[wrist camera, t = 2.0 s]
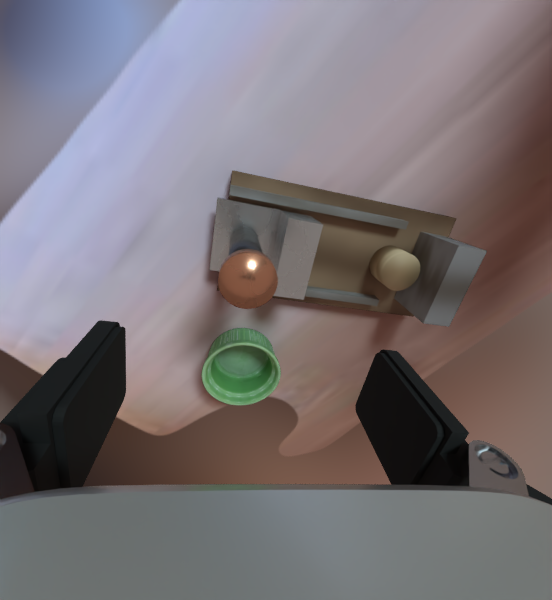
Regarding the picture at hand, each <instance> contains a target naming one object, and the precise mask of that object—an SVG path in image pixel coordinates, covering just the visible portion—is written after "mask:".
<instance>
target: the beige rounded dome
mask: <svg viewBox="0 0 552 600" xmlns="http://www.w3.org/2000/svg"><path fill="white" fill-rule="evenodd" d="M369 268H370V272H371V274H372V275H373V276H374V277H375V278H376V279H377V280H379V281H380V282H381V283H382V284H384V285H385V286H386V287H387V288H389V289H390V290H393V291H401V290H404V289H406V288H408V287H410V286H411V285H412V284H413V283H414V282H415V281H416V280H417V278H418V276H419V273H420V263H419V261H418V259H417V258H416V257H415V256H413V255H412V254H410V253H408V252H406V251H404V250H402V249H400V248H398V247H396V246H391V245H389V246H384V247H382V248H380V249H379V250H377V251H376V252H375V253H374V255H373V256H372V258H371V260H370V265H369Z"/></svg>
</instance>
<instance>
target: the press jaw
mask: <svg viewBox="0 0 552 600" xmlns="http://www.w3.org/2000/svg"><path fill="white" fill-rule="evenodd" d="M322 228H323V224H322V223H320V222H319V221H317V220H316V219H314V218H313V217H312V216H308V215H302V214H297V213H292V212H287V211H282V210H280V209H275V208H270V207H265V206H260V205H255V204H250V203H244V202H239V201H234V200H229V199H224V198H219V197H218V199H217V208H216V216H215V225H214V234H213V243H212V252H211V261H210V270H213V271H219V277H218V285H219V289H220V292H221V294H222V296H223V297H224V298H225V299H226V300H227V301H228V302H229V303H230V304H232V305H234V306H236V307H239V308H244V309H252V308H256V307H259V306H262V305H264V304H265V303H267V302H268V301H269V300H270V299H271V298H272V297H273V296H279V297H286V298H294V299H301V300H304V297H305V293H306V289H307V285H308V281H309V278H310V274H311V270H312V266H313V262H314V258H315V255H316V251H317V247H318V243H319V239H320V235H321V232H322Z"/></svg>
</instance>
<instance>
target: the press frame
mask: <svg viewBox="0 0 552 600" xmlns="http://www.w3.org/2000/svg"><path fill="white" fill-rule="evenodd" d="M229 200H234V201H239V202H244V203H250V204H255V205H260V206H265V207H270V208H275V209H280V210H282V211H287V212H292V213H297V214H302V215H308V216H312V217H313V218H314V219H316V220H317V221H319V222H320V223H322V224H323V228H322V232H321V235H320V239H319V243H318V247H317V251H316V255H315V258H314V262H313V266H312V270H311V274H310V278H309V281H308V285H307V289H306V293H305V297H304V300H301V299H294V298H286V297H279V296H273V297H272V298H278V299H286V300H293V301H301V302H308V303H316V304H323V305H331V306H338V307H346V308H353V309H361V310H368V311H376V312H383V313H391V314H399V315H406V316H415V317H416V318H418V319H419V320H420V321H421V322H422V323H425V324H433V325H440V326H448V327H449V326H450V324H451V322H452V320H453V318H454V316H455V314H456V312H457V310H458V308H459V306H460V304H461V302H462V300H463V298H464V296H465V294H466V292H467V290H468V288H469V286H470V284H471V282H472V280H473V278H474V276H475V274H476V272H477V270H478V268H479V266H480V264H481V262H482V260H483V258H484V256H485V254H486V252H487V251H486V250H483V249H480V248H477V247H474V246H471V245H468V244H465V243H463V242H460V241H457V240H454V239H451V238H448V237H449V235H450V232H451V230H452V228H453V225H454V223H455V221H456V218H452V217H448V216H443V215H438V214H434V213H429V212H424V211H420V210H415V209H410V208H406V207H401V206H396V205H392V204H387V203H382V202H378V201H373V200H368V199H364V198H359V197H354V196H350V195H345V194H340V193H336V192H331V191H326V190H322V189H317V188H312V187H308V186H303V185H298V184H294V183H289V182H284V181H280V180H275V179H270V178H266V177H261V176H256V175H252V174H247V173H242V172H238V171H232V178H231V185H230V193H229ZM389 245H391V246H396V247H398V248H400V249H402V250H404V251H406V252H408V253H410V254H412V255H413V256H415V257H416V258H417V259H418V261H419V263H420V273H419V276H418V278H417V280H416V281H415V282H414V283H413V284H412V285H411V286H410V287H408V288H406V289H404V290H401V291H393V290H390V289H389V288H387V287H386V286H385V285H384V284H382V283H381V282H380V281H379V280H377V279H376V278H375V277H374V276H373V275H372V274H371V272H370V268H369V265H370V260H371V258H372V256H373V255H374V253H375V252H376V251H377V250H379V249H380V248H382V247H384V246H389ZM217 290H218V291H220V289H219V285H218V288H217Z"/></svg>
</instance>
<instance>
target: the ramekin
mask: <svg viewBox="0 0 552 600" xmlns="http://www.w3.org/2000/svg"><path fill="white" fill-rule="evenodd" d="M280 375H281V371H280V365H279V363H278V360H277V358H276V356H275V354H274V351H273V348H272V345H271V343H270V342H269V340H268V339H267V338H266V337H265V336H264V335H262V334H261V333H259V332H257V331H255V330H253V329H248V328H237V329H232V330H229V331H227V332H225V333H223V334H221V335H220V336H219V337H218V338H217V339H216V340H215V341H214V342H213V344H212V346H211V348H210V351H209V354H208V357H207V359H206V361H205V363H204V365H203V369H202V381H203V384H204V387H205V389H206V390H207V391H208V393H209V394H210V395H211V396H212V397H214V398H215V399H217V400H219V401H221V402H223V403H226V404H230V405H249V404H253V403H256V402H259V401H261V400H262V399H264V398H266V397H267V396H269V395H270V394H271V393H272V392H273V391H274V390H275V388H276V387H277V385H278V383H279V380H280Z"/></svg>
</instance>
